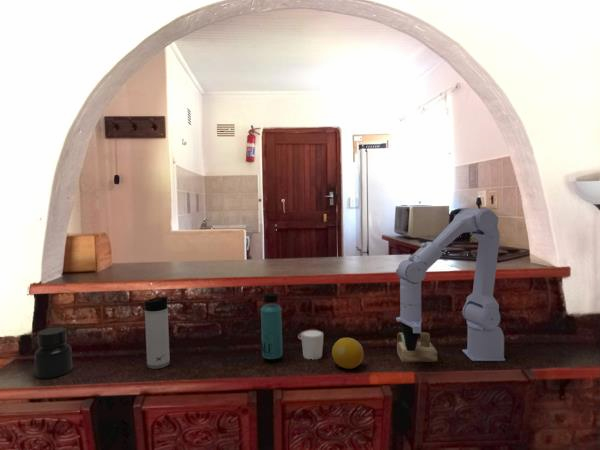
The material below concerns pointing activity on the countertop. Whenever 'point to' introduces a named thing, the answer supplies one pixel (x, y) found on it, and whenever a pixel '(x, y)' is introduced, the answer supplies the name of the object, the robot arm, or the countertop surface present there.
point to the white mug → (312, 344)
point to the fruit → (347, 353)
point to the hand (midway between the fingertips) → (410, 350)
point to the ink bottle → (53, 353)
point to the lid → (421, 343)
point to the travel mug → (157, 332)
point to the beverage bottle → (271, 328)
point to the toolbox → (415, 354)
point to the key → (402, 338)
